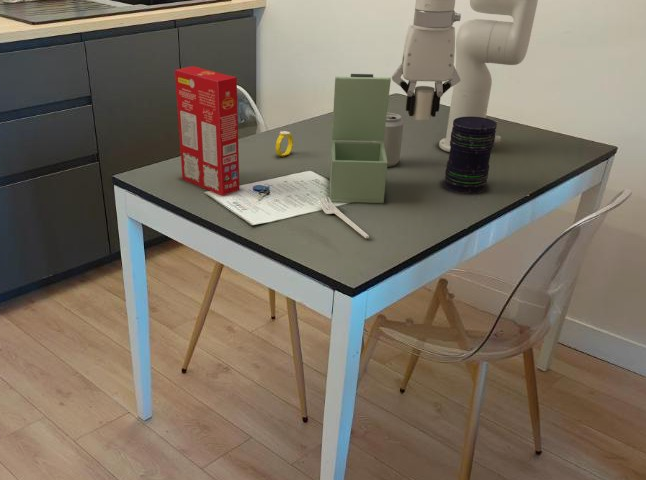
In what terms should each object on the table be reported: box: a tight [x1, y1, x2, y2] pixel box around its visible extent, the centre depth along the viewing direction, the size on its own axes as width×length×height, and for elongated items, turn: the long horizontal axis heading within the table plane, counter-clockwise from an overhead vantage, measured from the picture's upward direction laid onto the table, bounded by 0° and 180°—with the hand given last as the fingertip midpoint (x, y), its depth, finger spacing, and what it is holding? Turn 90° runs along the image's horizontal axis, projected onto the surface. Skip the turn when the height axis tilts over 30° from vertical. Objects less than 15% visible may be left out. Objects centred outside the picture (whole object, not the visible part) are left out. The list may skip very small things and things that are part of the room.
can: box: [371, 112, 404, 168], centre depth 176 cm, size 8×8×12 cm
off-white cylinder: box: [411, 85, 435, 121], centre depth 147 cm, size 4×4×6 cm
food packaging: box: [174, 65, 240, 196], centre depth 159 cm, size 15×5×25 cm, turn 44°
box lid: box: [331, 73, 392, 142], centre depth 160 cm, size 15×12×6 cm
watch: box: [275, 130, 294, 157], centre depth 183 cm, size 6×3×6 cm, turn 144°
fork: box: [318, 196, 370, 239], centre depth 148 cm, size 3×20×2 cm, turn 24°
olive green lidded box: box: [329, 140, 388, 204], centre depth 161 cm, size 14×12×9 cm
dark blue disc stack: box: [443, 117, 498, 195], centre depth 162 cm, size 10×10×15 cm
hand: (421, 113), depth 148 cm, fingers closed on off-white cylinder, 4 cm apart
